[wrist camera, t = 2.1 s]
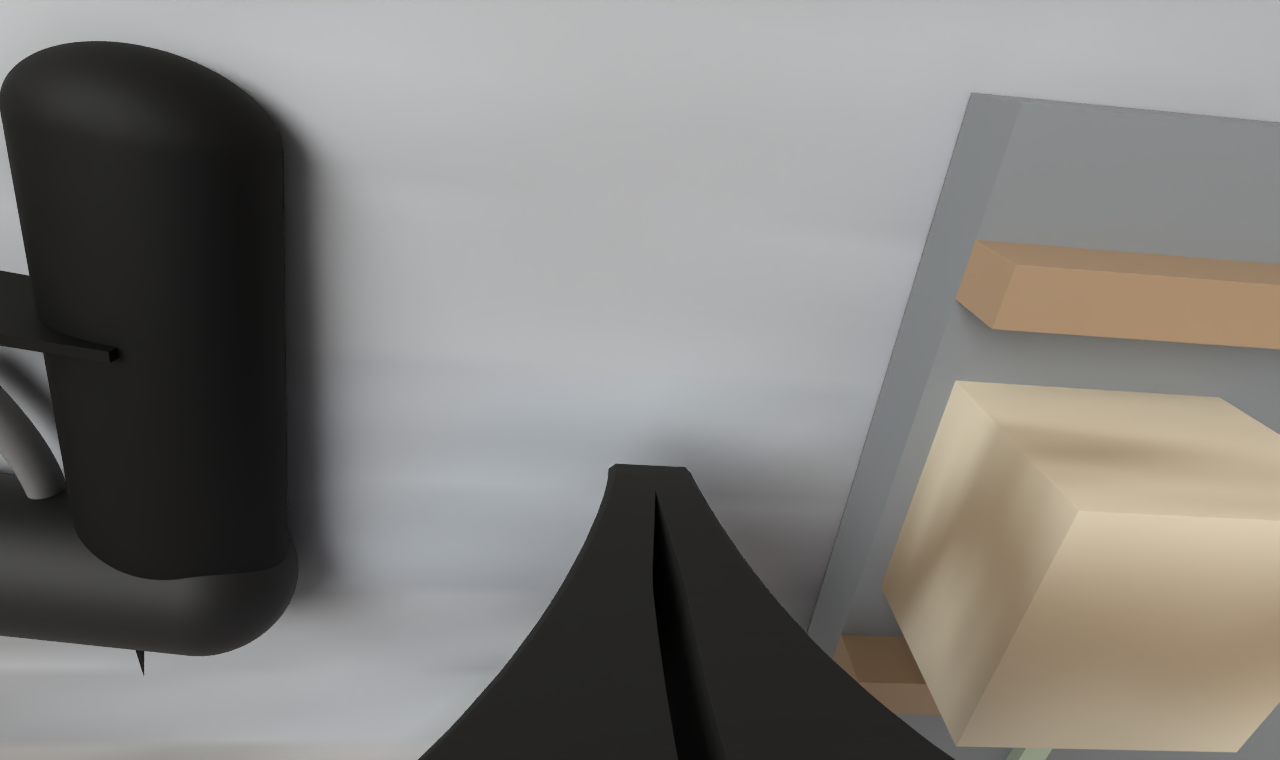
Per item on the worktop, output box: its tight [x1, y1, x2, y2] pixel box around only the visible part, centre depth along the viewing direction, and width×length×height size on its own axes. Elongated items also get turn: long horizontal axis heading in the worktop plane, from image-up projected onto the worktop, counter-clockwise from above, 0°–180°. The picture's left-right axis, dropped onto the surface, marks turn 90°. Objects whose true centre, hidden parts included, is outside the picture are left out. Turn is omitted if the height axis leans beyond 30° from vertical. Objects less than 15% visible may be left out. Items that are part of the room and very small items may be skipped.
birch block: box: [881, 381, 1280, 752], centre depth 11 cm, size 5×5×4 cm
